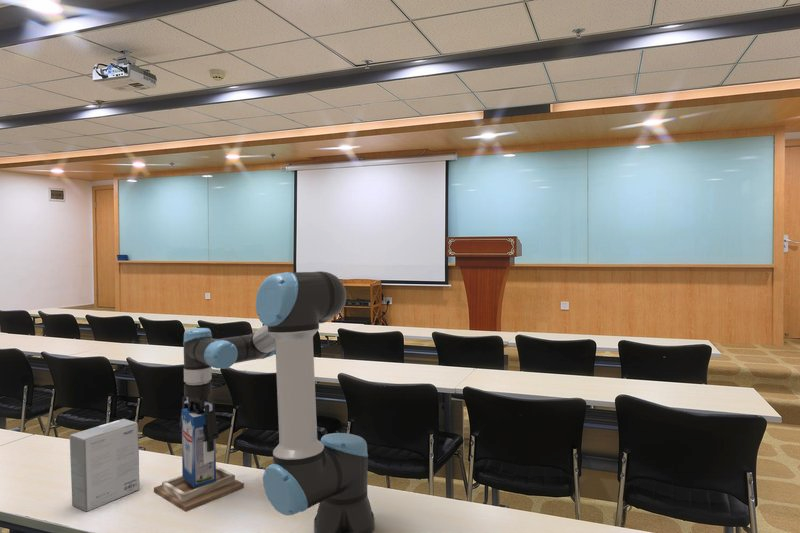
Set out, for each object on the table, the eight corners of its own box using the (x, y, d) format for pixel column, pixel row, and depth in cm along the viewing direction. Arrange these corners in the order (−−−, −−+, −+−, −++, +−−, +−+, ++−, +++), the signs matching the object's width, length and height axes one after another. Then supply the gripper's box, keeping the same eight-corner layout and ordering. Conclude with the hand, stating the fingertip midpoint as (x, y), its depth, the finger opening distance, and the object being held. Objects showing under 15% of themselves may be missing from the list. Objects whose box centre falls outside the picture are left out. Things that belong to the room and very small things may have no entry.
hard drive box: (125, 483, 152) (124, 417, 152) (140, 489, 148) (139, 422, 148) (70, 505, 139) (69, 433, 138) (85, 513, 135) (84, 438, 135)
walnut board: (243, 487, 150) (243, 476, 150) (185, 511, 136) (185, 499, 136) (210, 471, 161) (210, 461, 161) (153, 491, 147) (153, 480, 147)
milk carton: (216, 481, 147) (215, 412, 146) (194, 487, 143) (193, 417, 142) (203, 470, 154) (202, 405, 154) (182, 476, 150) (181, 409, 150)
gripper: (231, 385, 143) (232, 463, 144) (190, 373, 158) (190, 444, 158) (207, 391, 137) (207, 472, 138) (166, 378, 152) (167, 451, 152)
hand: (198, 457), depth 148 cm, fingers closed on milk carton, 10 cm apart
